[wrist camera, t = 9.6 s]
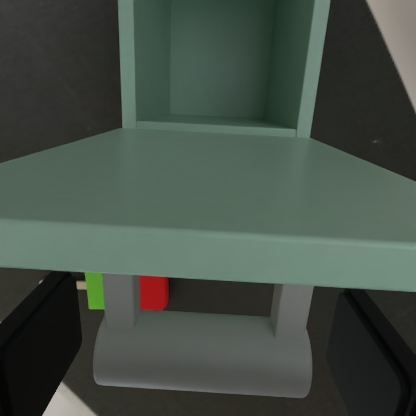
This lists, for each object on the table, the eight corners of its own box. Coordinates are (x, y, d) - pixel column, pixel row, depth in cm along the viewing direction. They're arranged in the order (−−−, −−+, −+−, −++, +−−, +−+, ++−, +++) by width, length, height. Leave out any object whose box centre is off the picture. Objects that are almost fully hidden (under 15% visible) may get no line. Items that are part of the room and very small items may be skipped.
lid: (-168, 210, 4) (-74, 459, 6) (596, 254, 4) (470, 495, 6) (119, 127, 17) (123, 215, 19) (312, 138, 17) (298, 225, 19)
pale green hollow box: (163, -30, 27) (111, -159, 14) (286, -24, 27) (353, -148, 14) (162, 121, 31) (122, 134, 18) (269, 127, 31) (308, 144, 18)
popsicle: (170, 303, 37) (167, 313, 36) (47, 299, 38) (38, 308, 36) (168, 262, 36) (166, 270, 34) (40, 258, 36) (31, 266, 34)
